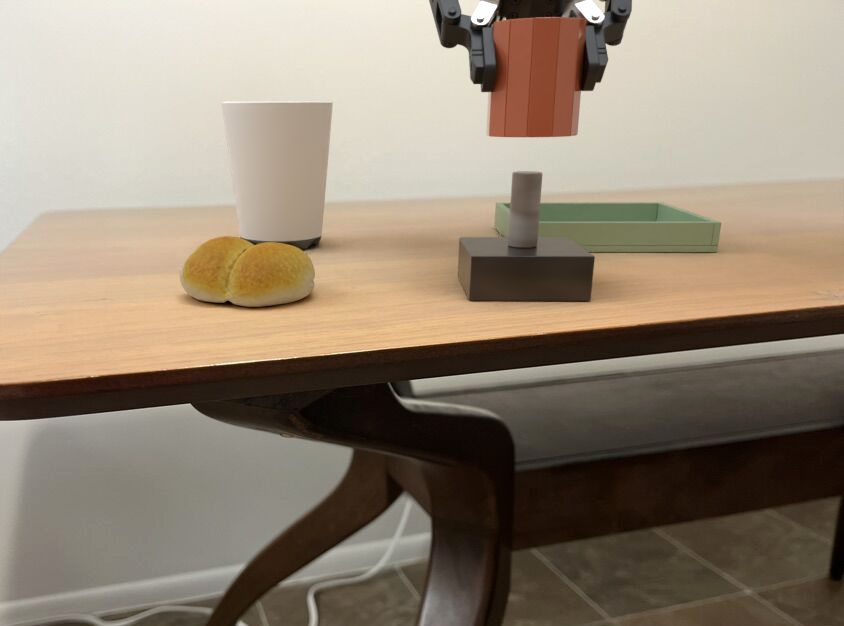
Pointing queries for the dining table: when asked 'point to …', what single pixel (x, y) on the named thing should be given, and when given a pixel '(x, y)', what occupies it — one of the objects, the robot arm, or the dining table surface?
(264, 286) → the bread roll
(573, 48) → the reddish-brown round cylinder
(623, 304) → the dining table surface
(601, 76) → the robot arm
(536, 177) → the ring holder
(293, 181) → the cup
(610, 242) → the tray
